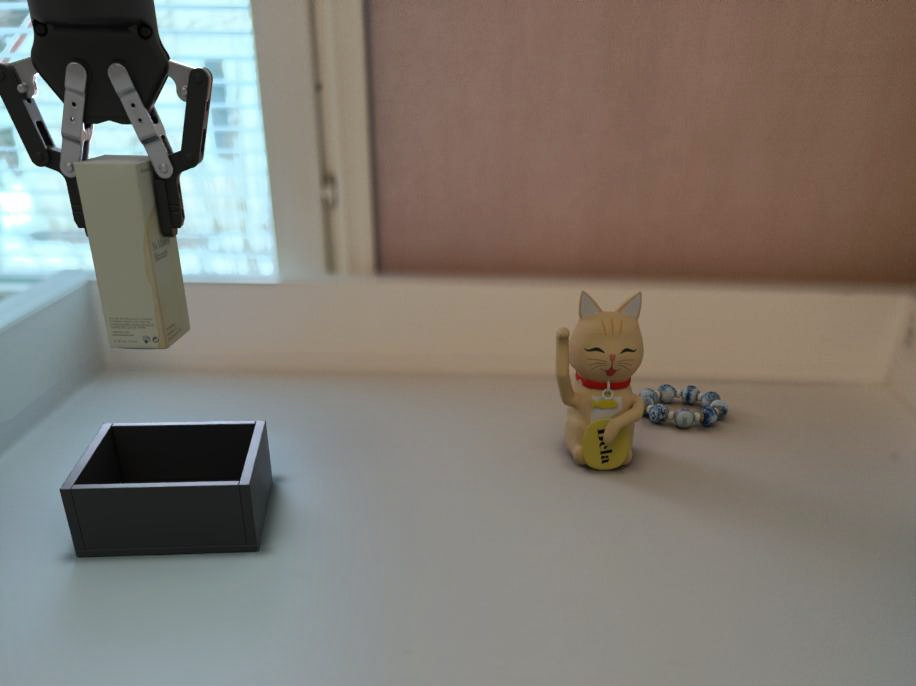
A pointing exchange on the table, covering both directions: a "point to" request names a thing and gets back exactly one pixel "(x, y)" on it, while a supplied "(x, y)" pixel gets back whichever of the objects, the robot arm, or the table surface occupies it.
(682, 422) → the bracelet
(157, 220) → the cosmetic box
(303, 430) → the table surface
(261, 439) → the dark grey open box
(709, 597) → the table surface
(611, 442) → the figurine
